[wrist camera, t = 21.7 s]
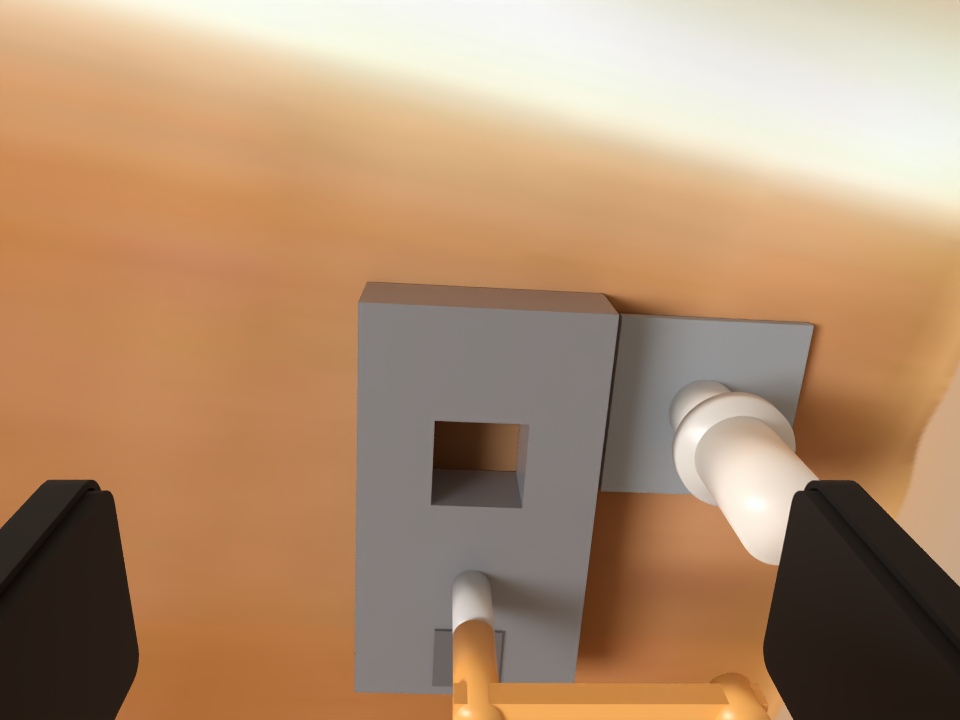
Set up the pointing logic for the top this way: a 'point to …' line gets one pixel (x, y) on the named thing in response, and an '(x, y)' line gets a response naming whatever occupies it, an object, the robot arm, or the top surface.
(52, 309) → the top surface
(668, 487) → the mat
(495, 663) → the clip
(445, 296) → the grey slab
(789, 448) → the knob
